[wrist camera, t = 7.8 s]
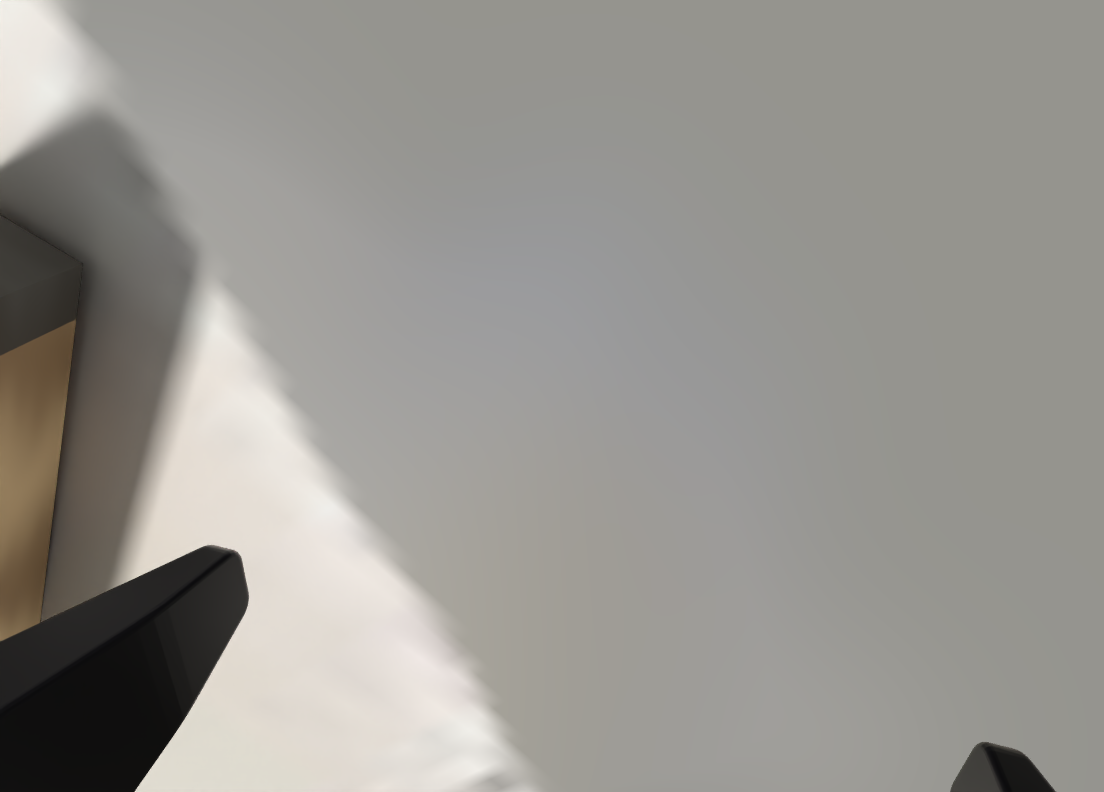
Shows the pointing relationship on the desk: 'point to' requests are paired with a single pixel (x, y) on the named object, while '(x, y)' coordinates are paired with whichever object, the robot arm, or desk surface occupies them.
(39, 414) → the hinged leg
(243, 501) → the desk surface
